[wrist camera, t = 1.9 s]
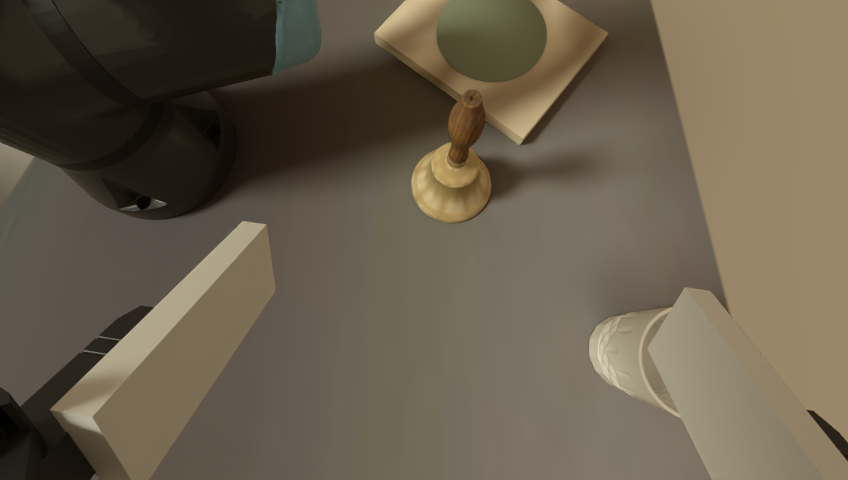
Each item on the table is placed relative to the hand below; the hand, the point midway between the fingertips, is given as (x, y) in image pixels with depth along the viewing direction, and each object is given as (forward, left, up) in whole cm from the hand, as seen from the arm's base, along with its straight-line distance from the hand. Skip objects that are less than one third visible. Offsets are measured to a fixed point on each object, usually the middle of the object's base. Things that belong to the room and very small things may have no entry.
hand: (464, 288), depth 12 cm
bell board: (-14, +27, -25) cm, 39 cm away
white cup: (+16, +8, -25) cm, 31 cm away
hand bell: (-7, +11, -26) cm, 29 cm away
